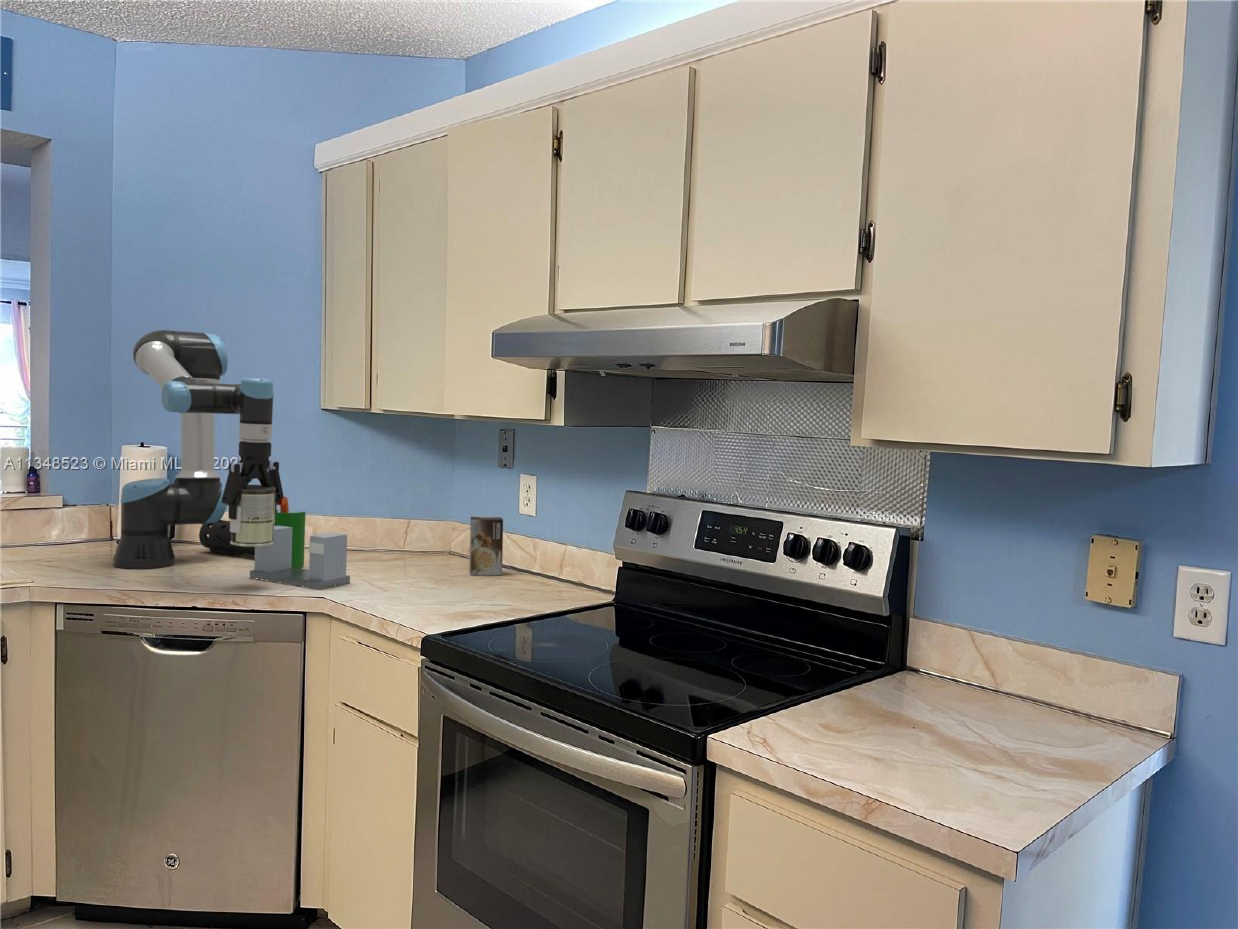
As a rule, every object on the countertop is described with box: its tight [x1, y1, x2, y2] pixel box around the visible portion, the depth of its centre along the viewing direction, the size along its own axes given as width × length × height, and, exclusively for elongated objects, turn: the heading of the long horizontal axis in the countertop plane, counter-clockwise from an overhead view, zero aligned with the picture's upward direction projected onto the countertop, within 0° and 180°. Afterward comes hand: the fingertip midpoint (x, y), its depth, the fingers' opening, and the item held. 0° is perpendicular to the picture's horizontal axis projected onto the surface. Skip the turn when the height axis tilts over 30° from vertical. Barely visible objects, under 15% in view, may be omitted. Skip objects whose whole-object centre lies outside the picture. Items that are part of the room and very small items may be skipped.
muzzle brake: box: [198, 519, 255, 556], centre depth 277 cm, size 10×28×10 cm, turn 68°
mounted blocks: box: [253, 526, 348, 581], centre depth 244 cm, size 24×8×11 cm, turn 64°
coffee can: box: [230, 484, 276, 547], centre depth 232 cm, size 10×10×14 cm
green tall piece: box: [274, 496, 306, 568], centre depth 263 cm, size 10×9×20 cm
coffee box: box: [468, 516, 504, 576], centre depth 267 cm, size 9×6×16 cm
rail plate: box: [249, 567, 351, 590], centre depth 244 cm, size 24×11×2 cm, turn 64°
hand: (252, 530), depth 232 cm, fingers closed on coffee can, 10 cm apart
